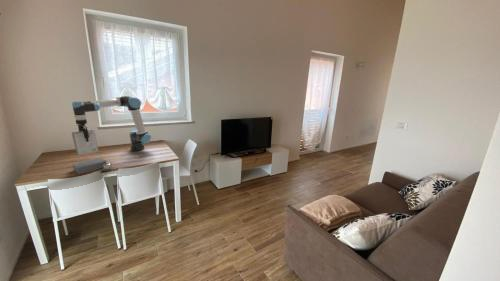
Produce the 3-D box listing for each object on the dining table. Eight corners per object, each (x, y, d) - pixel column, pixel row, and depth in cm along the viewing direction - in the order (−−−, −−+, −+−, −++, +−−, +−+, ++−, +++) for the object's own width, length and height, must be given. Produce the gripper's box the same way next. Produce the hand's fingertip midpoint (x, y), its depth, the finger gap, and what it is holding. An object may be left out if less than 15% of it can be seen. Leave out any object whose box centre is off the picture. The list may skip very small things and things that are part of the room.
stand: (100, 162, 209) (99, 157, 207) (107, 166, 201) (106, 160, 200) (73, 170, 191) (72, 164, 190) (79, 174, 184) (78, 168, 182)
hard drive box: (96, 149, 200) (92, 129, 194) (98, 151, 195) (95, 131, 189) (76, 153, 189) (71, 132, 183) (77, 155, 184) (73, 133, 178)
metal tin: (110, 167, 201) (109, 162, 199) (113, 168, 197) (113, 164, 196) (102, 169, 195) (101, 164, 194) (105, 171, 192) (104, 166, 190)
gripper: (71, 118, 186) (76, 142, 192) (80, 121, 174) (85, 147, 181) (81, 117, 191) (86, 140, 198) (90, 120, 180) (95, 145, 187)
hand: (85, 143), depth 189 cm, fingers closed on hard drive box, 8 cm apart
